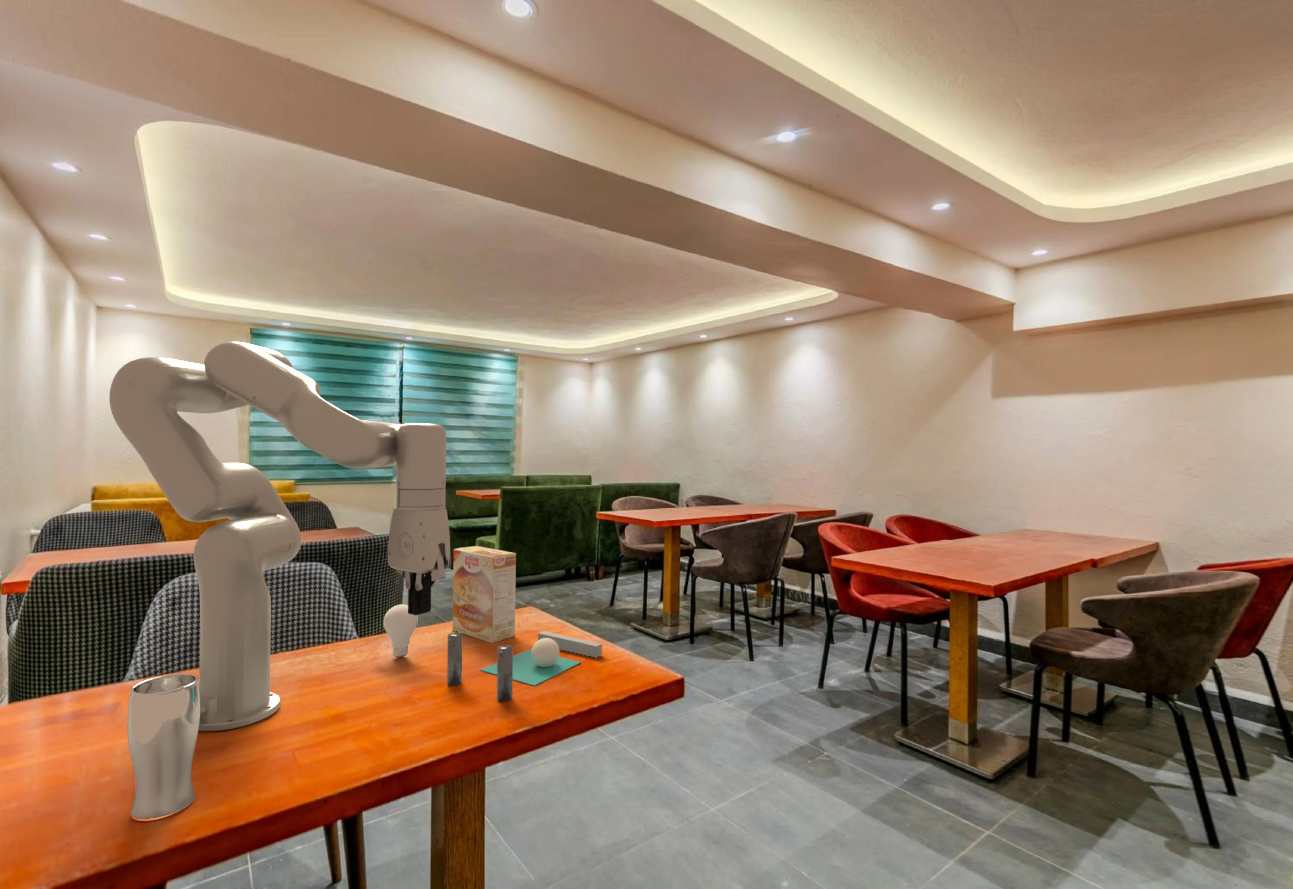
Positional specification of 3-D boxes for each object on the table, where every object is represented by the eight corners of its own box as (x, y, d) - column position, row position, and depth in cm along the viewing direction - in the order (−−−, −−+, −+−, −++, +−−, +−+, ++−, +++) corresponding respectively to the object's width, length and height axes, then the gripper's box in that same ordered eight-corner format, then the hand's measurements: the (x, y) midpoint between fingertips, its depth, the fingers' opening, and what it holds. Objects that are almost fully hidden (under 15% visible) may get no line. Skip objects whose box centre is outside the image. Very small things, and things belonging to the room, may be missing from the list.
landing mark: (534, 686, 111) (534, 685, 111) (480, 670, 118) (480, 669, 118) (580, 663, 123) (580, 662, 123) (529, 650, 130) (529, 649, 130)
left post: (453, 687, 110) (454, 637, 110) (444, 684, 111) (444, 635, 111) (464, 682, 112) (465, 634, 112) (455, 679, 114) (455, 631, 114)
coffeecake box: (451, 630, 143) (452, 548, 143) (475, 624, 149) (476, 545, 149) (491, 644, 134) (492, 556, 134) (516, 636, 140) (517, 552, 140)
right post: (504, 703, 103) (505, 650, 103) (493, 699, 105) (494, 648, 105) (515, 697, 106) (516, 646, 106) (504, 694, 107) (505, 643, 107)
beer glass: (149, 830, 69) (150, 699, 69) (112, 816, 71) (114, 689, 71) (212, 797, 75) (214, 677, 75) (176, 785, 78) (178, 669, 78)
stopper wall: (596, 658, 126) (596, 646, 126) (538, 644, 134) (538, 633, 134) (601, 655, 127) (602, 643, 127) (543, 642, 136) (544, 630, 136)
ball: (565, 665, 121) (546, 672, 117) (545, 661, 124) (525, 668, 120) (564, 636, 122) (545, 643, 117) (544, 633, 125) (524, 640, 120)
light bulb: (382, 655, 126) (383, 602, 126) (416, 650, 129) (416, 599, 129) (383, 665, 120) (383, 610, 120) (418, 661, 123) (419, 607, 123)
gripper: (371, 498, 98) (369, 611, 98) (433, 504, 90) (431, 626, 90) (410, 495, 104) (409, 601, 104) (471, 500, 97) (469, 614, 97)
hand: (419, 612), depth 97 cm, fingers closed
